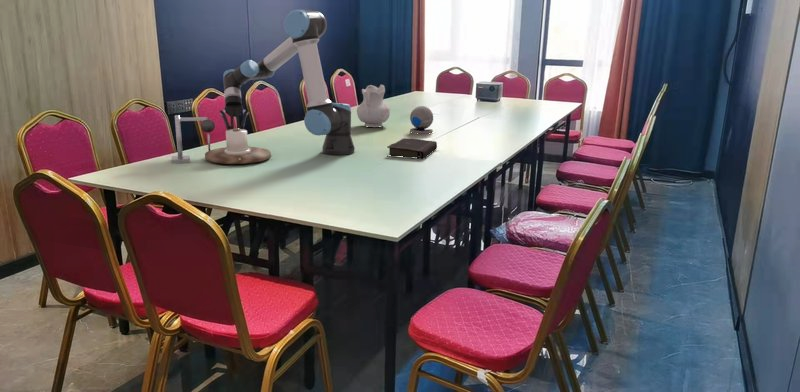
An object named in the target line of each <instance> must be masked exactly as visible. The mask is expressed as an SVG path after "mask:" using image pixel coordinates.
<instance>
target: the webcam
mask: <svg viewBox="0 0 800 392" xmlns="http://www.w3.org/2000/svg"><path fill="white" fill-rule="evenodd" d="M409 116H410V117H409V119H410V121H409V122H410V123H411V125H412V126H413V127H411V128H410V129H409V133H410V132H412V133H418V134H428V135H430V134H429V133H432V132H433V133H434V131H433V129H429V127H431V125H432V123H433V121H434V113H433V111H432V110H431V109H430V108H429V107H427V106H424V105H418V106H416V107H415V108H413V110H412V111H411V113H410V115H409ZM412 133H411V134H412ZM433 133H432V134H433ZM418 134H417V135H418Z"/></svg>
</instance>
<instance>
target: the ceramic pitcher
mask: <svg viewBox="0 0 800 392" xmlns="http://www.w3.org/2000/svg"><path fill="white" fill-rule="evenodd" d="M385 87H386V86H385V85H384V84H380V85H379V86H378V87H377V86H375V85H372V84H370V85H367V86H366V88H365V89H364V88H362V89H361V93H362V97H363V100H362V102H361V103H360V104H359V105H358V106H357V108H356V114H357V118H358V119H359V121H360V122H362V123H364V124H363V127H364V126H368V127H379V126H383V124H384V123H385V122H387V121H388V119H389V118H390V115H391V114H390V113H391V110H390V109H391V108H390V107H389V105H387V104H386V102H384V95H385V93H386V88H385ZM383 127H384V126H383Z"/></svg>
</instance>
